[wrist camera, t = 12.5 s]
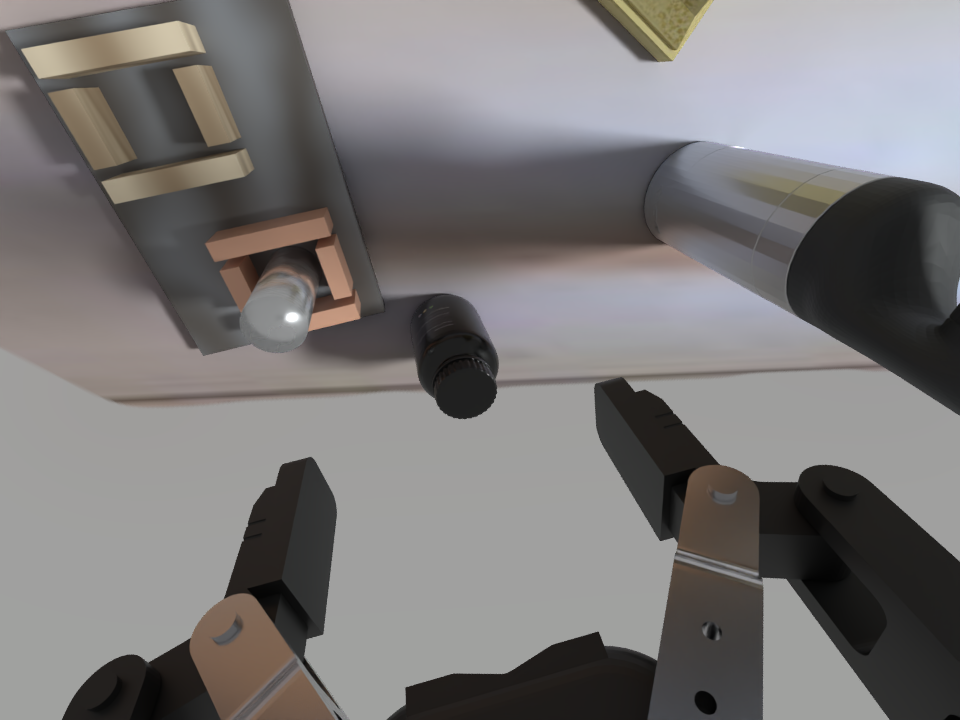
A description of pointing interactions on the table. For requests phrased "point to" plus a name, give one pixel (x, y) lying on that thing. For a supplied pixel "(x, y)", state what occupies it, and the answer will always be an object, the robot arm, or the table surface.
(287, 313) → the peg
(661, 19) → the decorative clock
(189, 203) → the mount board
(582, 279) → the table surface
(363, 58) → the table surface
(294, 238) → the socket
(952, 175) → the table surface
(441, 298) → the supplement bottle
